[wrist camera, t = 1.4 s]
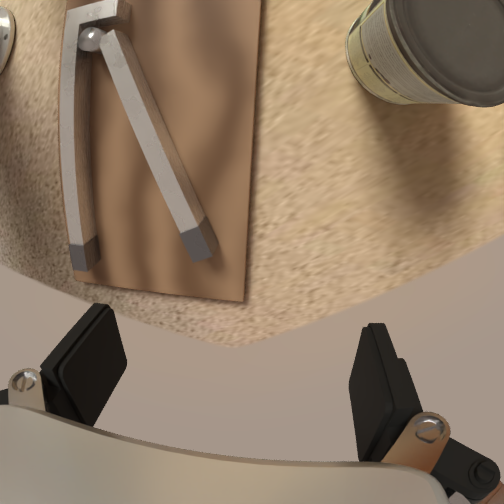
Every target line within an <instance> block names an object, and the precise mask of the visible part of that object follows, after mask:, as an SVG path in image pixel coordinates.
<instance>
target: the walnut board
mask: <svg viewBox="0 0 504 504" xmlns="http://www.w3.org/2000/svg"><path fill="white" fill-rule="evenodd" d="M99 1H104V0H67V5H66V11H65V18H64V25H63V34H62V43H61V53H60V67H59V86H58V143H59V163H60V177H61V188H62V198H63V207H64V215H65V223H66V230H67V236H68V243H69V244H70V239H69V233H68V226H67V218H66V210H65V202H64V192H63V181H62V168H61V151H60V78H61V62H62V50H63V39H64V31H65V23H66V16H67V11H68V10H71V9H74V8H77V7H81V6H84V5H88V4H92V3H96V2H99ZM124 1H126V2H128V3H129V4H131V5H132V7H131V15H130V22H128V23H122V24H117V25H112V26H107V27H102V28H98V29H101V30H104V31H106V32H110V31H112V30H113V29H114V30H117V31H119V32H122V33H124V34H126V35H128V37H129V39H130V42H131V44H132V47H133V49H134V52H135V54H136V57H137V59H138V61H139V64H140V66H141V69H142V71H143V74H144V76H145V78H146V81H147V83H148V86H149V88H150V90H151V93H152V95H153V97H154V100H155V102H156V105H157V107H158V109H159V112H160V114H161V116H162V119H163V121H164V123H165V126H166V128H167V130H168V133H169V135H170V137H171V139H172V142H173V144H174V146H175V149H176V151H177V153H178V155H179V158H180V160H181V162H182V165H183V167H184V169H185V171H186V174H187V176H188V178H189V180H190V183H191V185H192V187H193V189H194V192H195V194H196V196H197V198H198V200H199V203H200V205H201V207H202V209H203V211H204V214H205V216H207V218H208V220H209V222H210V225H211V227H212V229H213V231H214V233H215V235H216V238H217V240H218V242H219V243H218V246H217V248H216V250H215V252H214V254H213V256H212V257H209V258H206V259H203V260H200V261H197V262H195V263H193V262H192V260H191V258H190V256H189V254H188V252H187V250H186V248H185V246H184V244H183V242H182V239H181V237H180V235H179V233H180V231H179V229H178V227H177V225H176V223H175V220H174V218H173V216H172V214H171V212H170V210H169V208H168V206H167V204H166V201H165V199H164V197H163V195H162V193H161V191H160V188H159V186H158V184H157V182H156V180H155V178H154V175H153V173H152V171H151V169H150V166H149V164H148V162H147V160H146V157H145V155H144V153H143V151H142V148H141V146H140V144H139V141H138V139H137V137H136V135H135V132H134V130H133V128H132V125H131V123H130V120H129V118H128V116H127V113H126V111H125V109H124V106H123V104H122V101H121V99H120V96H119V94H118V91H117V89H116V86H115V84H114V81H113V79H112V76H111V74H110V71H109V69H108V66H107V64H106V61H105V58H104V56H103V54H98V53H92V67H91V87H90V153H91V174H92V189H93V201H94V212H95V221H96V230H97V235H98V240H99V248H100V255H101V260H100V261H99V262H98V263H97V264H96V265H95V266H93V267H92V268H91V269H90V270H89V271H88V272H84V271H77V270H74V275H75V280H76V281H82V282H88V283H95V284H101V285H108V286H115V287H122V288H129V289H136V290H144V291H152V292H159V293H167V294H176V295H184V296H193V297H201V298H211V299H220V300H230V301H240V302H243V300H244V295H245V276H246V258H247V240H248V222H249V204H250V186H251V169H252V151H253V134H254V118H255V101H256V84H257V68H258V52H259V36H260V20H261V5H262V0H124Z"/></svg>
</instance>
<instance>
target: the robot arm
mask: <svg viewBox="0 0 504 504" xmlns="http://www.w3.org/2000/svg"><path fill="white" fill-rule="evenodd" d="M14 32H15V24H14V18H13V15H12V13H11V12H10V10H9V9H7V8H5V7H1V6H0V74H1V72H2V70H3V68H4V67H5V64H6V62H7V60H8V58H9V55H10V52H11V49H12V45H13V40H14ZM126 366H127V359H126V355H125V352H124V349H123V345H122V341H121V337H120V334H119V330H118V326H117V322H116V318H115V314H114V311H113V309H111V308H110V306H109V305H107V304H100V303H94V304H93V305H92V306H91V307H90V308H89V309H88V311H87V312H86V313H85V314H84V315H83V316H82V317H81V319H80V320H79V321H78V322H77V323H76V324H75V325H74V326H73V328H72V329H71V330H70V331H69V332H68V333H67V335H66V336H65V337H64V338H63V339H62V340H61V341H60V343H59V344H58V345H57V346H56V347H55V348H54V350H53V351H52V352H51V353H50V355H49V356H48V357H47V358H46V359H45V360H44V362H43V363H42V364H41V365H40V367H41V369H42V370H41V371H40V372H38V371H37V370H35V369H31V368H27V369H22V370H19V371H18V372H16V373H15V374H14V375H13V376H12V377H11V378H10V380H9V384H8V389H5V390H1V391H0V504H504V484H503V483H502V482H501V481H500V471H499V468H498V466H497V465H496V463H495V462H493V461H492V460H491V459H489V458H487V457H485V456H483V455H481V454H479V453H478V452H476V451H474V450H472V449H470V448H468V447H466V446H465V445H463V444H461V443H459V442H457V441H456V440H454V439H452V438H450V432H451V431H450V426H449V424H448V422H447V421H446V420H445V419H444V418H443V417H442V416H440V415H439V414H436V413H433V412H423V410H422V407H421V404H420V401H419V398H418V395H417V392H416V389H415V386H414V383H413V381H412V378H411V375H410V373H409V370H408V367H407V364H406V362H405V360H404V359H403V358H397V355H396V352H395V349H394V347H393V344H392V341H391V339H390V336H389V333H388V331H387V328H386V326H385V324H384V323H369V324H368V326H367V327H363V329H362V332H361V337H360V341H359V345H358V349H357V353H356V357H355V361H354V365H353V369H352V372H351V376H350V380H349V393H350V400H351V406H352V413H353V420H354V428H355V435H356V443H357V451H358V458H359V461H360V462H345V461H344V462H343V461H342V462H312V461H285V460H267V459H255V458H243V457H234V456H226V455H218V454H210V453H203V452H197V451H192V450H186V449H180V448H175V447H169V446H164V445H159V444H155V443H151V442H146V441H142V440H138V439H134V438H130V437H126V436H122V435H118V434H115V433H111V432H107V431H104V430H101V429H97V428H94V427H93V426H94V424H95V422H96V421H97V419H98V417H99V415H100V413H101V411H102V410H103V408H104V406H105V404H106V403H107V401H108V399H109V397H110V395H111V394H112V392H113V390H114V388H115V387H116V385H117V383H118V381H119V380H120V378H121V376H122V374H123V373H124V371H125V369H126ZM362 461H364V462H362Z"/></svg>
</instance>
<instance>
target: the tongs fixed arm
mask: <svg viewBox="0 0 504 504" xmlns="http://www.w3.org/2000/svg"><path fill="white" fill-rule="evenodd" d="M131 7H132V5H131V4H129V3H128V2H126V1H124V0H104V1H99V2H96V3H92V4H88V5H84V6H81V7H77V8H74V9H71V10H68V11H67V16H66V23H65V31H64V39H63V50H62V62H61V78H60V151H61V168H62V181H63V192H64V202H65V210H66V218H67V226H68V233H69V239H70V244H69V250H70V256H71V261H72V267H73V270H77V271H84V272H88V271H89V270H90V269H91V268H92V267H93V266H95V265H96V264H97V263H98V262H99V261H100V260H101V255H100V248H99V240H98V235H97V230H96V221H95V212H94V201H93V189H92V174H91V153H90V87H91V67H92V53H93V52H89V51H84V50H82V49H80V47H79V45H78V40H79V37H80V35H81V33H82V32H83V31H84V30H85V29H87V28H89V27H95V28H102V27H107V26H112V25H117V24H122V23H128V22H130V15H131Z"/></svg>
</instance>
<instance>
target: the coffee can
mask: <svg viewBox="0 0 504 504" xmlns="http://www.w3.org/2000/svg"><path fill="white" fill-rule="evenodd" d="M345 49H346V57H347V61H348V64H349V66H350V69H351V71H352V73H353V74H354V76H355V78H356V79H357V80H358V81H359V83H360V84H361V85H362V86H363V87H364V88H365V89H366V90H367V91H369V92H370V93H371V94H373V95H374V96H376V97H378V98H380V99H382V100H384V101H386V102H389V103H394V104H401V105H407V104H413V103H430V104H431V103H447V104H464V105H468V106H475V107H493V106H497V105H500V104H502V103H504V0H373V1H372V2H371V3H370V5H369V6H368V7H367V8H366V9H365V10H364V12H363V13H362V14H361V15H360V16H359V17H358V18H357V19H356V20H355V21H354V22H353V24H352V25H351V27H350V29H349V31H348V34H347V37H346V42H345Z"/></svg>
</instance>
